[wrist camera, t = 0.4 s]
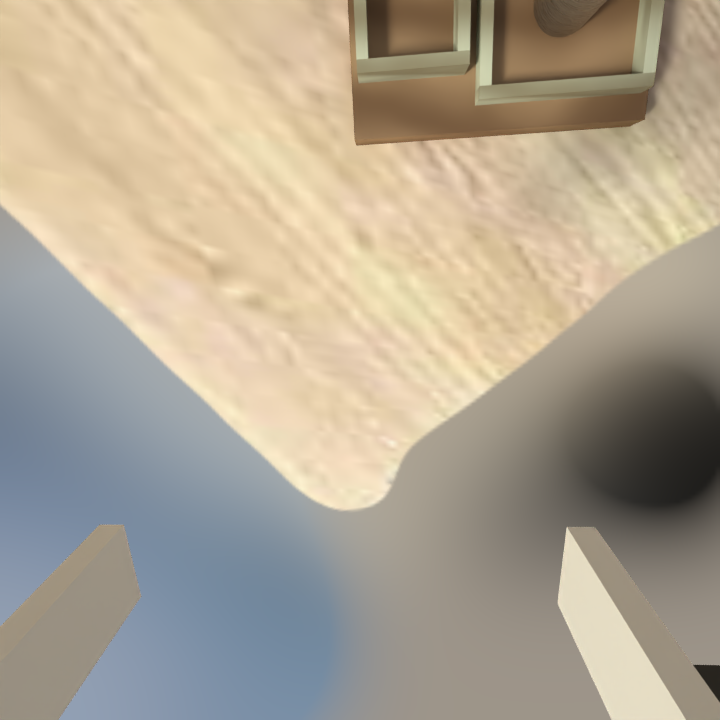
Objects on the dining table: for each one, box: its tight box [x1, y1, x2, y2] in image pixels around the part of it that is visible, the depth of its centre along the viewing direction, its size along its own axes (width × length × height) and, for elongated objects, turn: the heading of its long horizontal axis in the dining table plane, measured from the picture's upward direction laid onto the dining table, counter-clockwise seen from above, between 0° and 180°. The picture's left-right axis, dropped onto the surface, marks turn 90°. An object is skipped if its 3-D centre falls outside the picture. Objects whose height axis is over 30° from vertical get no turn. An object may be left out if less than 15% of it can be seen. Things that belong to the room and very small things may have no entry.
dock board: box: [348, 0, 665, 145], centre depth 29 cm, size 15×21×4 cm
